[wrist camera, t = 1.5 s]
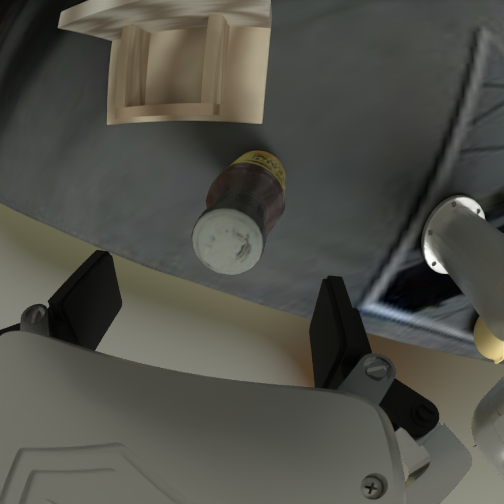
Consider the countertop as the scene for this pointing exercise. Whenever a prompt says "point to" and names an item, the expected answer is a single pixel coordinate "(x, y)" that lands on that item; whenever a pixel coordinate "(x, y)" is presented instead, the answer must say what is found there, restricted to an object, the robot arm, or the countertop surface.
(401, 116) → the countertop surface
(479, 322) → the pale yellow rounded lump
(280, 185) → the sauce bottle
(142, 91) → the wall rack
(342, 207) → the countertop surface
